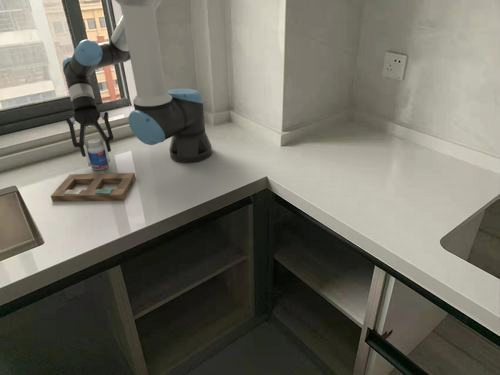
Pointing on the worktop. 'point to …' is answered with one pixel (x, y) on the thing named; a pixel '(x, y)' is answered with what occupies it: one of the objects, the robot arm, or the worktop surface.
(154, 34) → the robot arm
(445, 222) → the worktop surface
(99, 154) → the pill bottle
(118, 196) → the socket plate
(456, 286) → the worktop surface
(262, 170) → the worktop surface
